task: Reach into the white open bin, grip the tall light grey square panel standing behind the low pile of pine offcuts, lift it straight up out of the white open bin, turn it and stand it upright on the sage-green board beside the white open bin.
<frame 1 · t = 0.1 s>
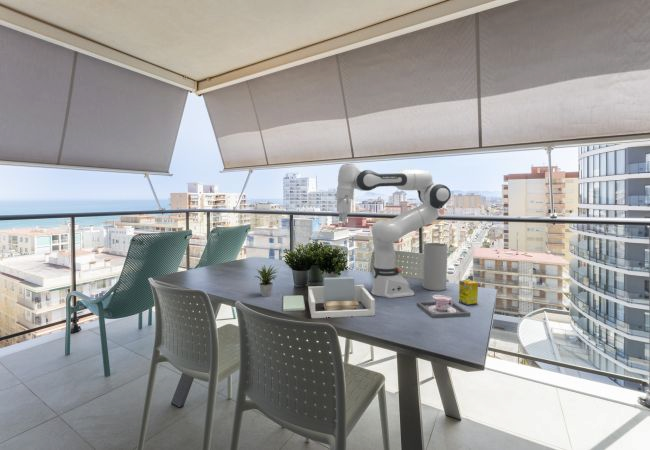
hand: (342, 221, 172), 39 cm above the table, tool pointing down, fingers open, 8 cm apart
house plant: (266, 296, 174), on the table
teacup: (442, 311, 150), resting on coaster tray
sage board: (293, 303, 160), on the table
offcut stack: (341, 312, 148), resting in white open bin
coaster tray: (442, 310, 150), on the table
light grey square panel: (338, 292, 154), in the white open bin
cylinder vase: (434, 288, 187), on the table
white open bin: (338, 307, 155), on the table
supplement box: (467, 303, 160), on the table
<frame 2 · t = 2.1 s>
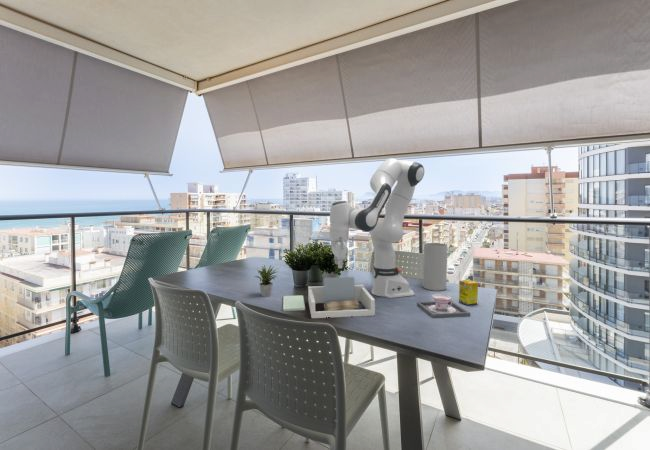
hand: (338, 266, 153), 20 cm above the table, tool pointing down, fingers open, 8 cm apart
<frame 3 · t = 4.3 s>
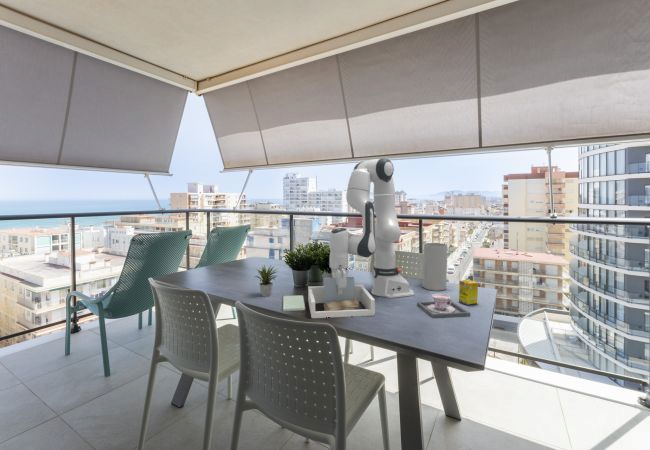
hand: (338, 292, 154), 7 cm above the table, tool pointing down, fingers closed on light grey square panel, 3 cm apart
light grey square panel: (338, 292, 154), in the white open bin, touching gripper
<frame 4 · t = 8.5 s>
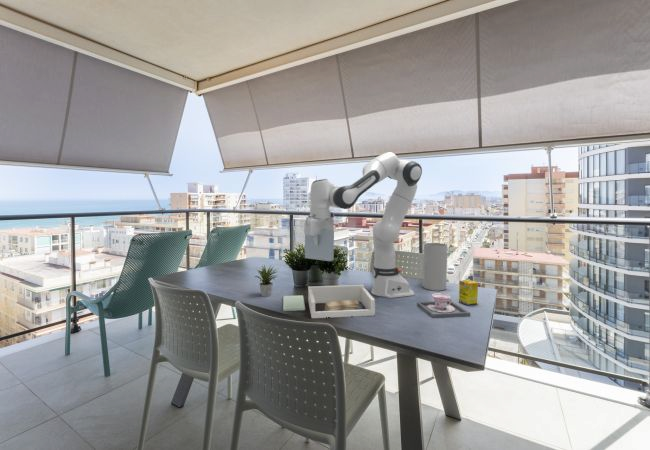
hand: (319, 244, 154), 30 cm above the table, tool pointing down, fingers closed on light grey square panel, 3 cm apart
light grey square panel: (319, 244, 154), point 30 cm above the table, touching gripper
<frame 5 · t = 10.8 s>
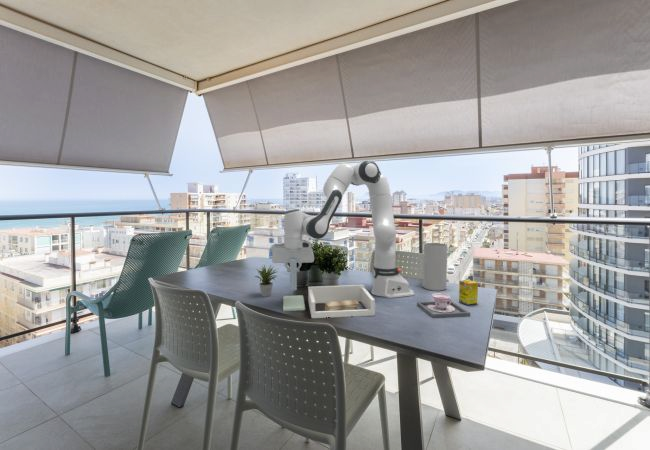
hand: (293, 271, 159), 16 cm above the table, tool pointing down, fingers closed on light grey square panel, 3 cm apart
light grey square panel: (293, 271, 159), point 16 cm above the table, touching gripper
when the fingers open (10 cm above the table, at t = 12.8 s): light grey square panel drops 1 cm, resting on sage board.
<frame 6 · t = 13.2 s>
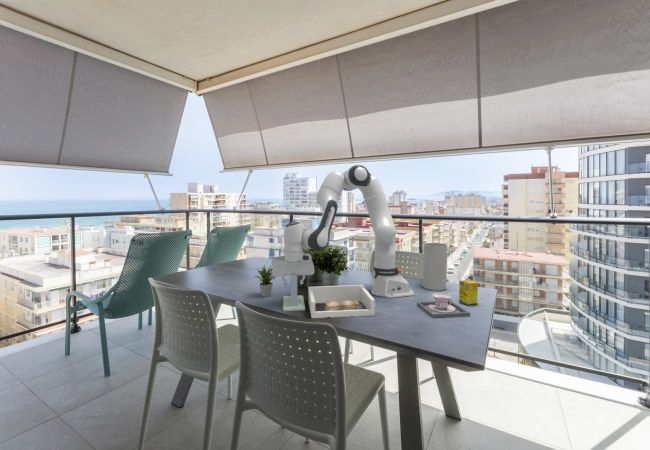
hand: (293, 284, 160), 10 cm above the table, tool pointing down, fingers open, 6 cm apart
light grey square panel: (293, 287, 160), on the sage board, point 8 cm above the table
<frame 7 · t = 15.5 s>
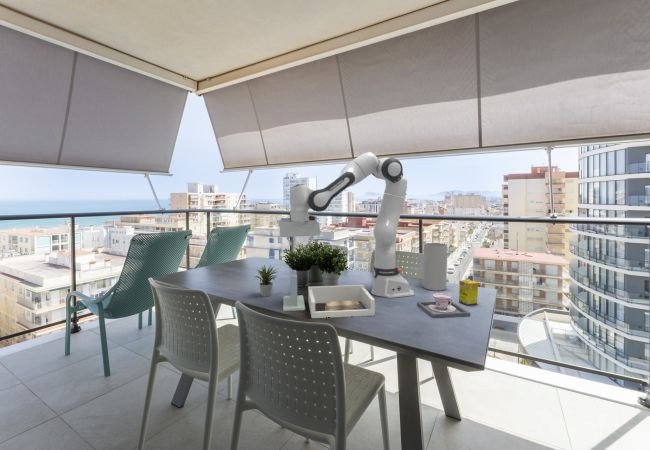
hand: (300, 245, 164), 28 cm above the table, tool pointing down, fingers open, 8 cm apart
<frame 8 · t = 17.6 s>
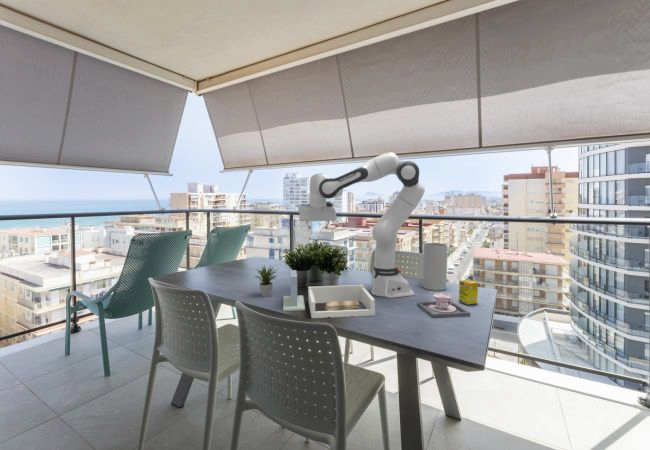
hand: (317, 229, 181), 34 cm above the table, tool pointing down, fingers open, 8 cm apart
at the end: light grey square panel inside the target area (0.1 cm from its centre), point 8.0 cm above the table; light grey square panel tilted 0°; offcut stack moved 0.4 cm from its start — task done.
